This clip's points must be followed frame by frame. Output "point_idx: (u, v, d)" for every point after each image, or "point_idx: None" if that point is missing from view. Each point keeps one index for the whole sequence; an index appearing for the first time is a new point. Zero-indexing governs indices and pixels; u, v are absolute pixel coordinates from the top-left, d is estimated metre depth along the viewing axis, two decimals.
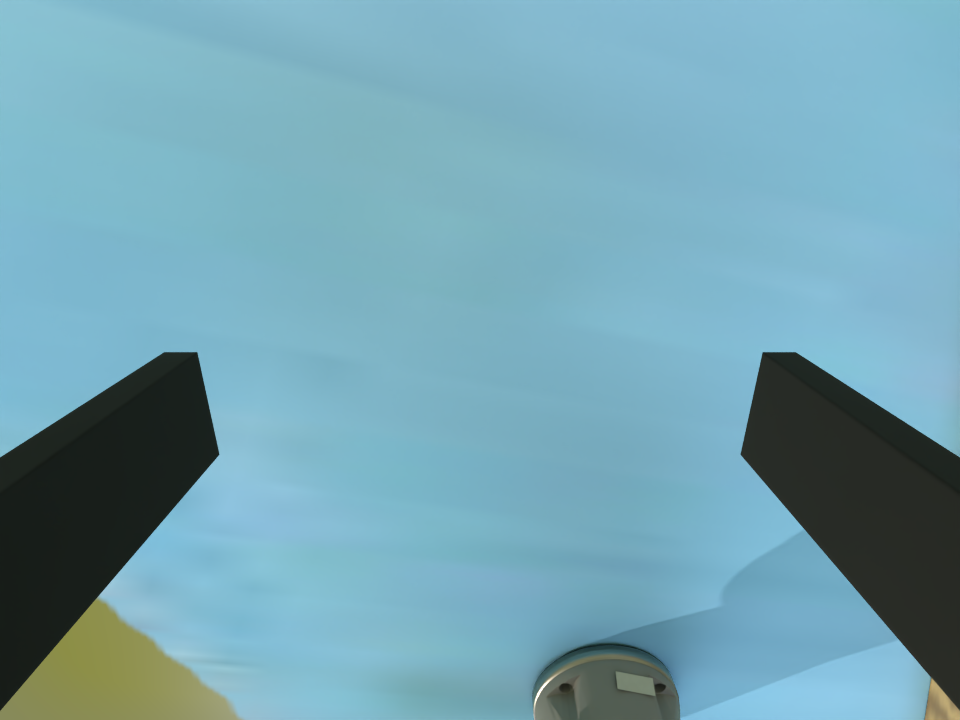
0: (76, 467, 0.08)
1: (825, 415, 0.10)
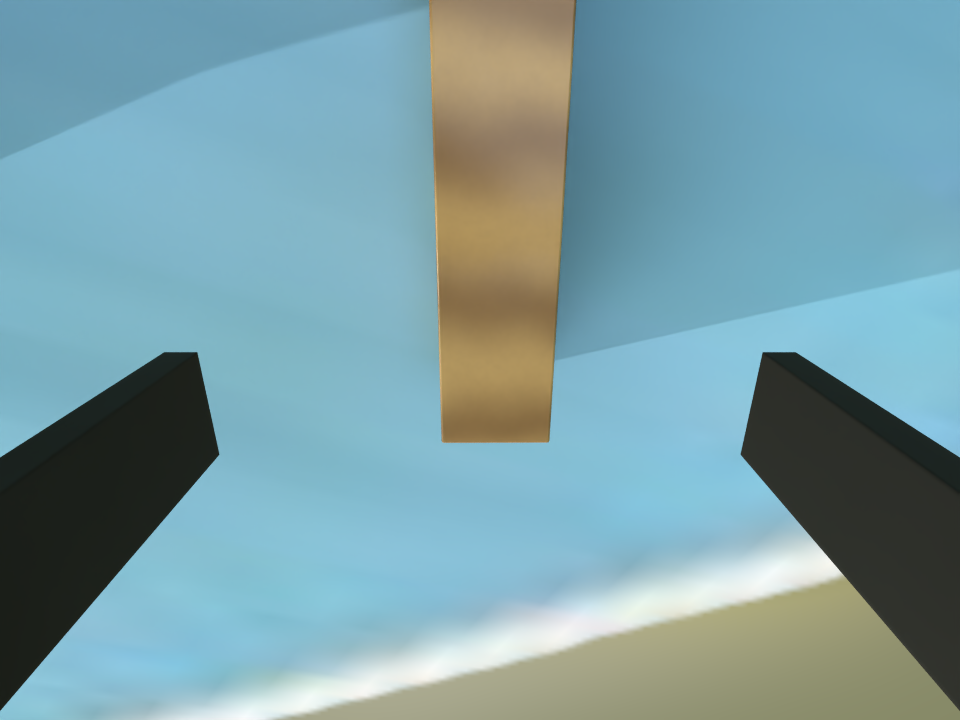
0: (76, 467, 0.08)
1: (825, 415, 0.10)
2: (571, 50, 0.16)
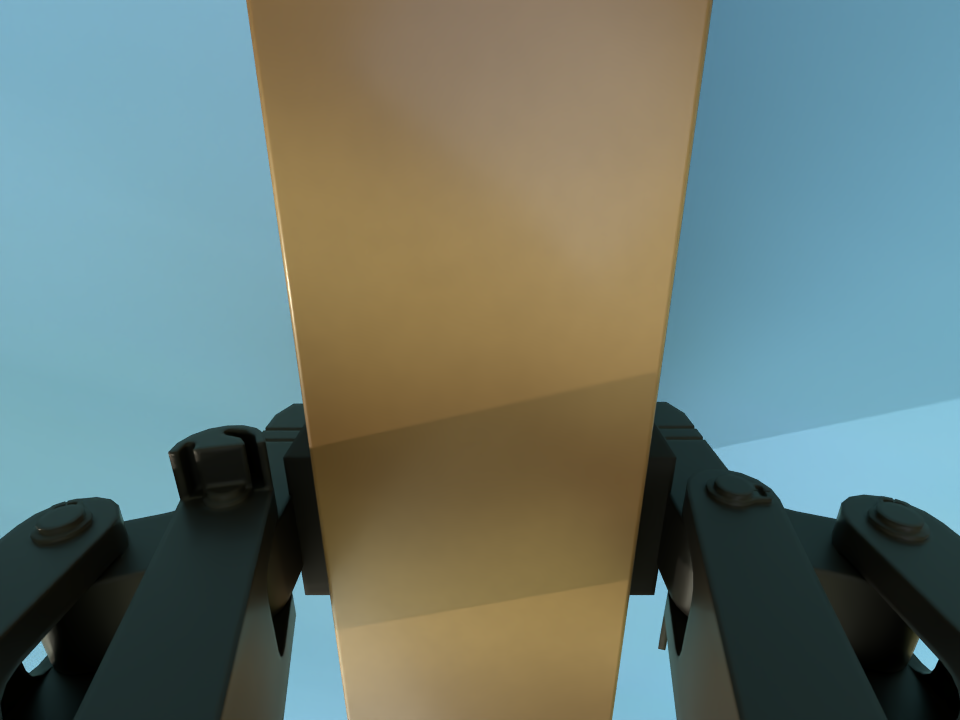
0: None
1: None
2: None
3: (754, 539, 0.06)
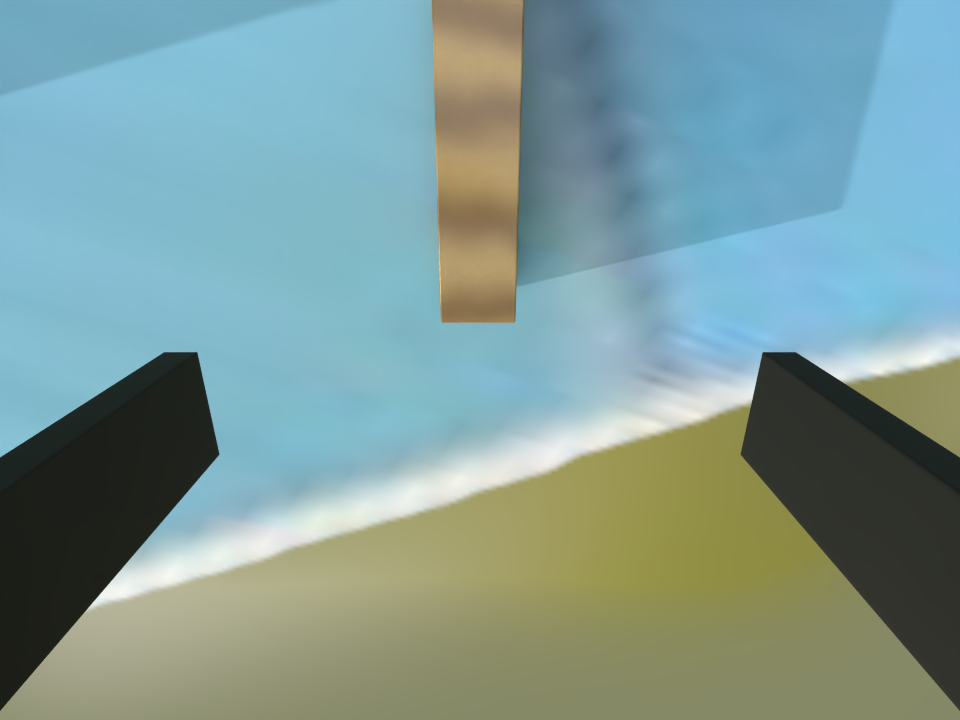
0: (76, 467, 0.08)
1: (825, 415, 0.10)
2: (521, 51, 0.26)
3: None
